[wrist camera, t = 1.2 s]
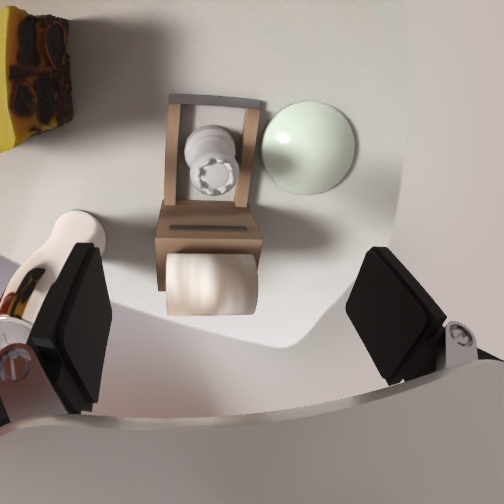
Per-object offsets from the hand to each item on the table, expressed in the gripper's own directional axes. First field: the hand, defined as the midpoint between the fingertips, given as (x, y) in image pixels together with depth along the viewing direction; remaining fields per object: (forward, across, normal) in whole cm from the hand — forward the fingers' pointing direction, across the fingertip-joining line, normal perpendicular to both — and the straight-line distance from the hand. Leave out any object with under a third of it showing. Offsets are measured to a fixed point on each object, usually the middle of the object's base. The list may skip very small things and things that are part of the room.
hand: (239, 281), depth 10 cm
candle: (+18, +18, -7) cm, 27 cm away
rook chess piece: (+18, 0, 0) cm, 18 cm away
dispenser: (+18, 0, +2) cm, 18 cm away
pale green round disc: (+18, -9, -1) cm, 20 cm away
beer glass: (+18, +13, +9) cm, 24 cm away
